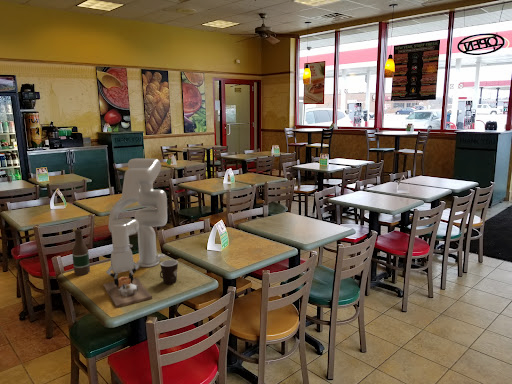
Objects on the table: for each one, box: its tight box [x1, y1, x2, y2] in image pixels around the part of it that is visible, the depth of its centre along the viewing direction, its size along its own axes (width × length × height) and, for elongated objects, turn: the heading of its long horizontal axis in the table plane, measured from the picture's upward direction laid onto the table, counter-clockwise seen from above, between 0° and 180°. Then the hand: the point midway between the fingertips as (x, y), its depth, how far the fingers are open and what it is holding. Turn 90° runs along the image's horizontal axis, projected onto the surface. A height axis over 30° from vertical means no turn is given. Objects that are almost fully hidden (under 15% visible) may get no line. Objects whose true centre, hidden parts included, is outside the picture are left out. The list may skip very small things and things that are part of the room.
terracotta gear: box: [118, 275, 131, 287], centre depth 191 cm, size 6×6×3 cm
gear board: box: [103, 276, 153, 308], centre depth 187 cm, size 16×26×6 cm, turn 32°
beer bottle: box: [72, 228, 91, 276], centre depth 208 cm, size 8×8×24 cm
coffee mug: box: [159, 259, 179, 285], centre depth 197 cm, size 12×9×10 cm
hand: (124, 283), depth 191 cm, fingers closed on terracotta gear, 5 cm apart
